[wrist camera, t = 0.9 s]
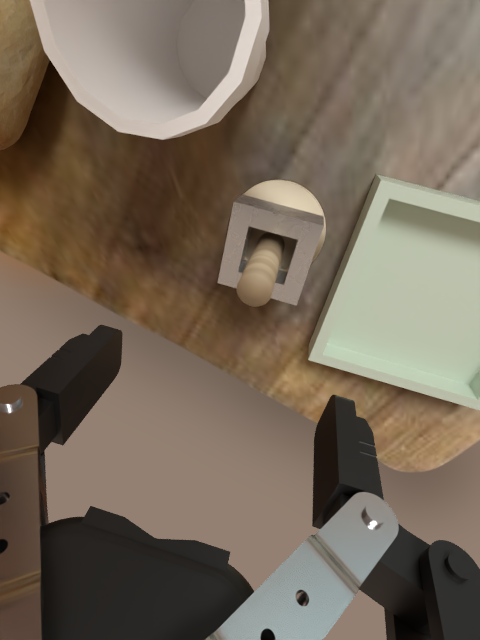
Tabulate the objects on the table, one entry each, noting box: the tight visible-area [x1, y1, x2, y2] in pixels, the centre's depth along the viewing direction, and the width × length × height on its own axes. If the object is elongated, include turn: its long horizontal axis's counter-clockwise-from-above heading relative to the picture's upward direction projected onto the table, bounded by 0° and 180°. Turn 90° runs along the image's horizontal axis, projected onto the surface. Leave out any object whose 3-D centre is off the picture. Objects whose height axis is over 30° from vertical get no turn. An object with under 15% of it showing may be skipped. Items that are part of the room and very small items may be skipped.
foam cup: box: [30, 0, 269, 140], centre depth 19 cm, size 10×9×13 cm
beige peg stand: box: [229, 179, 326, 307], centre depth 25 cm, size 8×8×12 cm
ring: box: [218, 194, 324, 305], centre depth 25 cm, size 6×6×2 cm
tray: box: [308, 174, 480, 410], centre depth 29 cm, size 16×16×3 cm
